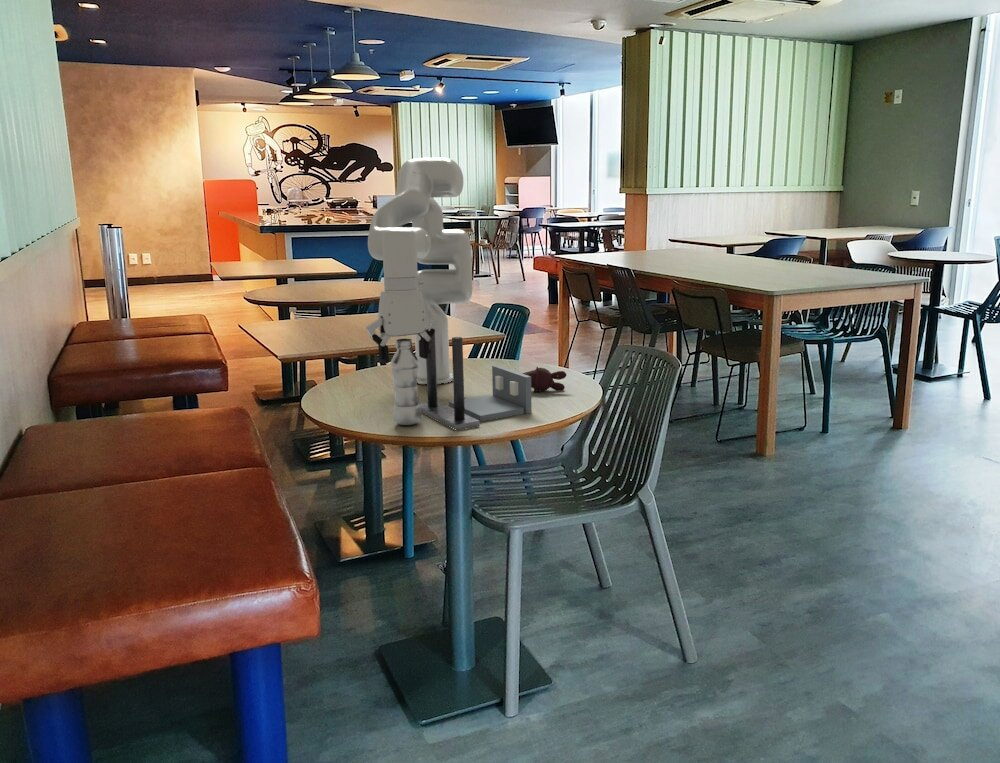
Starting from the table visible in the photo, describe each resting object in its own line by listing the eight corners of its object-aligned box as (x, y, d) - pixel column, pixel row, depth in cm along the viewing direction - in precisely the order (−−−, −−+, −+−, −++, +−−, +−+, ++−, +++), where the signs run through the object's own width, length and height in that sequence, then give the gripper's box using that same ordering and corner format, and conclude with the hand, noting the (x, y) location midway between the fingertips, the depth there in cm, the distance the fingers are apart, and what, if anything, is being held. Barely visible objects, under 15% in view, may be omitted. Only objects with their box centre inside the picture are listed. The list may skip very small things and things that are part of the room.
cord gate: (415, 409, 199) (411, 328, 194) (436, 406, 202) (433, 326, 197) (456, 431, 181) (453, 342, 176) (479, 426, 184) (477, 339, 179)
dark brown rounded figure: (510, 372, 209) (567, 376, 209) (511, 359, 216) (566, 363, 216) (508, 395, 212) (564, 399, 213) (509, 382, 219) (563, 386, 219)
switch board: (449, 407, 200) (447, 372, 198) (497, 399, 207) (497, 365, 205) (480, 421, 187) (479, 384, 185) (531, 412, 194) (531, 376, 192)
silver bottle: (425, 420, 189) (422, 337, 184) (416, 429, 182) (412, 342, 178) (399, 419, 190) (395, 336, 186) (389, 427, 184) (385, 342, 179)
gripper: (428, 281, 186) (431, 353, 190) (358, 286, 177) (362, 361, 181) (443, 283, 180) (445, 358, 183) (371, 288, 171) (375, 367, 175)
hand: (404, 360), depth 182 cm, fingers open, 9 cm apart
